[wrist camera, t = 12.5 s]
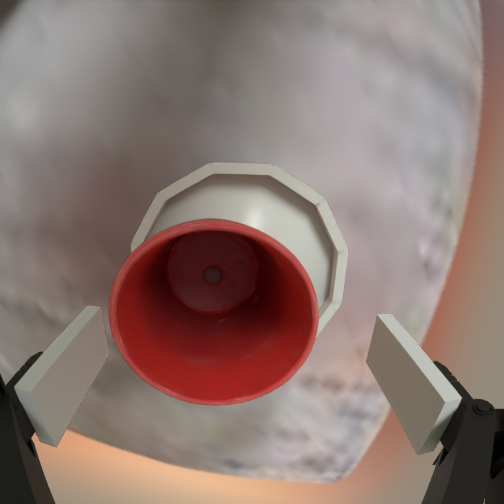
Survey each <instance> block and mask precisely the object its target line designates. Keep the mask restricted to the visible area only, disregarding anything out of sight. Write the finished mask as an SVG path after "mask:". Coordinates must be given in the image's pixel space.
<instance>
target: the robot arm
mask: <svg viewBox="0 0 504 504" xmlns="http://www.w3.org/2000/svg"><path fill="white" fill-rule="evenodd" d="M109 355H110V354H109V349H108V344H107V339H106V333H105V328H104V322H103V316H102V310H101V307H99V306H88V305H87V306H86V307H85V308H84V309H83V311H82V312H81V313H80V314H79V315H78V316H77V317H76V318H75V319H74V320H73V321H72V322H71V323H70V324H69V325H68V326H67V327H66V329H65V330H64V331H63V332H62V333H61V334H60V335H59V336H58V337H57V338H56V339H55V340H54V342H53V343H52V344H51V345H50V346H49V347H48V348H47V349H46V350H45V352H38V353H37V354H35V355H33V356H31V357H30V358H29V359H28V361H27V362H26V363H25V365H23V366H22V367H21V368H20V371H18V372H17V373H16V374H15V375H14V376H13V377H12V379H11V380H10V381H9V382H8V383H7V384H6V386H5V384H4V382H3V379H2V377H1V374H0V504H55V501H54V499H53V497H52V494H51V492H50V489H49V487H48V484H47V481H46V478H45V476H44V473H43V470H42V467H41V464H40V461H39V458H38V455H37V452H36V449H35V445H34V443H33V441H32V439H31V438H32V436H33V434H34V433H35V432H36V435H37V436H38V438H39V440H40V442H42V443H45V444H48V445H51V446H54V447H57V446H58V444H59V442H60V440H61V438H62V436H63V435H64V433H65V431H66V429H67V427H68V425H69V424H70V422H71V420H72V418H73V416H74V415H75V413H76V411H77V409H78V408H79V406H80V404H81V402H82V401H83V399H84V397H85V395H86V394H87V392H88V390H89V389H90V387H91V385H92V383H93V382H94V380H95V378H96V377H97V375H98V373H99V372H100V370H101V368H102V367H103V365H104V363H105V362H106V360H107V358H108V357H109ZM366 362H367V364H368V366H369V368H370V369H371V371H372V373H373V375H374V376H375V378H376V380H377V382H378V384H379V385H380V387H381V389H382V391H383V392H384V394H385V396H386V398H387V400H388V401H389V403H390V405H391V407H392V409H393V411H394V412H395V414H396V416H397V418H398V420H399V421H400V423H401V425H402V427H403V429H404V431H405V432H406V435H407V437H408V438H409V440H410V442H411V444H412V446H413V448H414V450H415V452H416V454H417V455H420V454H424V453H428V452H431V451H434V449H435V448H436V446H437V444H438V443H439V441H441V443H442V445H443V446H444V447H443V449H442V450H441V452H440V454H439V455H438V457H437V458H436V460H435V461H434V463H433V465H435V464H436V463H437V464H436V467H435V470H434V472H433V475H432V478H431V481H430V483H429V486H428V489H427V491H426V494H425V496H424V499H423V501H422V504H483V503H484V498H485V504H504V409H495V408H494V407H493V405H492V404H490V403H489V402H488V401H485V400H483V399H473V398H472V397H471V396H470V395H469V393H468V392H467V391H466V390H465V389H464V387H463V386H462V385H461V384H460V383H459V382H458V381H457V379H456V378H455V377H454V376H452V373H451V372H450V371H449V370H448V369H447V368H446V367H445V366H444V365H442V364H441V363H439V362H437V361H434V362H432V361H431V360H430V359H429V357H428V356H427V355H426V354H425V353H424V351H423V350H422V349H421V348H420V347H419V346H418V344H417V343H416V342H415V341H414V340H413V339H412V337H411V336H410V335H409V334H408V333H407V332H406V331H405V329H404V328H403V327H402V326H401V325H400V324H399V323H398V322H397V320H396V319H395V318H394V317H393V316H392V315H391V314H379V315H377V317H376V322H375V327H374V331H373V335H372V340H371V344H370V348H369V352H368V356H367V360H366Z"/></svg>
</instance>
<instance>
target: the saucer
mask: <svg viewBox="0 0 504 504" xmlns="http://www.w3.org/2000/svg"><path fill="white" fill-rule="evenodd" d="M205 218H216V219H226V220H230V221H235V222H239V223H242V224H245V225H248V226H250V227H253V228H255V229H257V230H260V231H262V232H264V233H266V234H268V235H269V236H271V237H273V238H274V239H276V240H277V241H279V242H280V243H281V244H283V245H284V246H285V247H286V248H287V249H289V250H290V251H291V252H292V253H293V254H294V255H295V256H296V258H297V259H298V260H299V261H300V263H301V264H302V265H303V267H304V268H305V270H306V272H307V273H308V275H309V277H310V279H311V281H312V284H313V286H314V289H315V292H316V296H317V301H318V310H319V323H318V330H317V335H318V334H319V333H320V331H321V330H322V329H323V328H324V326H325V325H326V324H327V322H328V321H329V320H330V318H331V317H332V316H333V314H334V313H335V312H336V310H337V309H338V308H339V306H340V305H341V304H340V303H342V296H343V289H344V281H345V274H346V266H347V258H348V251H347V250H348V248H347V246H346V244H345V242H344V239H343V237H342V235H341V232H340V230H339V228H338V226H337V224H336V221H335V219H334V217H333V215H332V213H331V210H330V208H329V206H328V204H327V202H326V200H325V199H324V197H322V196H321V195H319V194H318V193H316V192H315V191H314V190H312V189H311V188H309V187H308V186H306V185H305V184H303V183H302V182H300V181H299V180H297V179H296V178H294V177H293V176H291V175H290V174H288V173H287V172H285V171H283V170H282V169H280V168H279V167H277V166H276V165H273V164H257V163H227V162H212V163H208V164H206V165H205V166H203V167H201V168H199V169H197V170H196V171H194V172H192V173H190V174H189V175H187V176H185V177H183V178H182V179H180V180H178V181H176V182H175V183H173V184H171V185H170V186H168V187H166V188H165V189H163V190H161V191H160V192H158V194H156V196H155V198H154V200H153V202H152V203H151V205H150V207H149V209H148V211H147V213H146V215H145V217H144V218H143V220H142V222H141V224H140V226H139V228H138V230H137V232H136V234H135V236H134V238H133V240H132V242H131V243H132V244H131V253H132V252H133V251H134V250H135V249H136V248H137V247H138V246H139V245H140V244H142V243H143V242H144V241H146V240H147V239H148V238H150V237H151V236H153V235H155V234H156V233H158V232H160V231H162V230H164V229H167V228H169V227H171V226H174V225H177V224H180V223H183V222H187V221H192V220H198V219H205ZM317 335H316V337H317Z"/></svg>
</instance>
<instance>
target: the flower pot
mask: <svg viewBox="0 0 504 504" xmlns="http://www.w3.org/2000/svg"><path fill="white" fill-rule="evenodd" d="M109 322H110V328H111V332H112V335H113V338H114V341H115V343H116V345H117V347H118V350H119V351H120V353H121V355H122V356H123V358H124V359H125V361H126V362H127V363H128V365H129V366H130V367H131V368H132V369H133V370H134V371H135V372H136V373H137V374H138V375H139V376H140V377H141V378H142V379H143V380H145V381H146V382H147V383H148V384H150V385H151V386H153V387H154V388H156V389H158V390H159V391H161V392H163V393H165V394H167V395H170V396H172V397H174V398H177V399H180V400H183V401H187V402H191V403H196V404H203V405H230V404H237V403H242V402H245V401H250V400H252V399H256V398H258V397H261V396H263V395H265V394H268V393H270V392H272V391H273V390H275V389H277V388H278V387H280V386H281V385H283V384H284V383H285V382H287V381H288V380H289V379H290V378H291V377H292V376H293V375H294V374H295V373H296V372H297V371H298V370H299V369H300V367H301V366H302V365H303V363H304V362H305V360H306V359H307V357H308V355H309V354H310V352H311V349H312V347H313V344H314V341H315V338H316V335H317V330H318V323H319V310H318V301H317V296H316V292H315V289H314V286H313V284H312V281H311V279H310V277H309V275H308V273H307V272H306V270H305V268H304V267H303V265H302V264H301V263H300V261H299V260H298V259H297V258H296V256H295V255H294V254H293V253H292V252H291V251H290V250H289V249H287V248H286V247H285V246H284V245H283V244H281V243H280V242H279V241H277V240H276V239H274V238H273V237H271V236H269V235H268V234H266V233H264V232H262V231H260V230H257V229H255V228H253V227H250V226H248V225H245V224H242V223H239V222H235V221H230V220H226V219H216V218H205V219H198V220H192V221H187V222H183V223H180V224H177V225H174V226H171V227H169V228H167V229H164V230H162V231H160V232H158V233H156V234H155V235H153V236H151V237H150V238H148V239H147V240H146V241H144V242H143V243H142V244H140V245H139V246H138V247H137V248H136V249H135V250H134V251H133V252H132V253H131V254H130V255H129V256H128V257H127V259H126V260H125V261H124V263H123V264H122V266H121V267H120V269H119V271H118V273H117V275H116V277H115V279H114V282H113V285H112V288H111V292H110V298H109Z"/></svg>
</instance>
